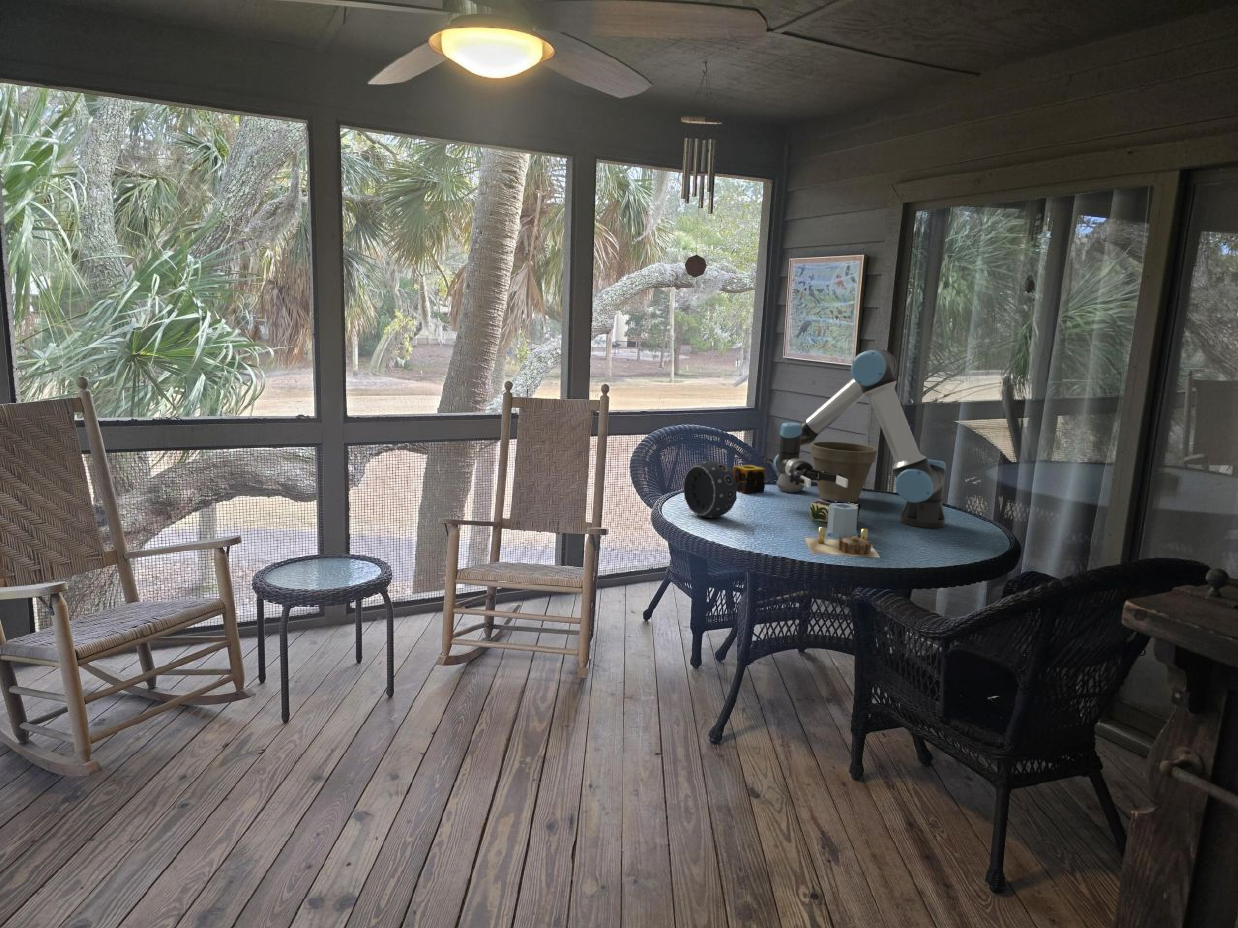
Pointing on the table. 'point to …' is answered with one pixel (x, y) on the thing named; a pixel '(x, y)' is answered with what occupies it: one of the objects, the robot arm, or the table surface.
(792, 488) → the coffee pot
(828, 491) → the plant pot
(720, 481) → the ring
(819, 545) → the gear board
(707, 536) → the table surface
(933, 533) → the table surface
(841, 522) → the blue gear
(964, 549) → the table surface
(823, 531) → the peg
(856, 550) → the fixed gear
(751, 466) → the candle
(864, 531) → the far peg
